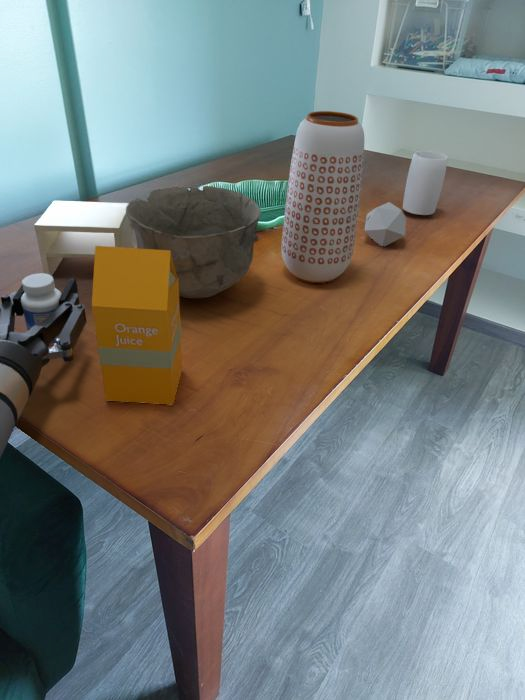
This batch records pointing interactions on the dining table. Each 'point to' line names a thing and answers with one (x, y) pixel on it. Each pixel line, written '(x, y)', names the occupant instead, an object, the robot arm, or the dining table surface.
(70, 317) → the robot arm
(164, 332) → the orange juice
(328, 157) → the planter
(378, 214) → the die
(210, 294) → the bowl
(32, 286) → the pill bottle
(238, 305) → the dining table surface
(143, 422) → the dining table surface
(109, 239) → the shelf
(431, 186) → the cup
